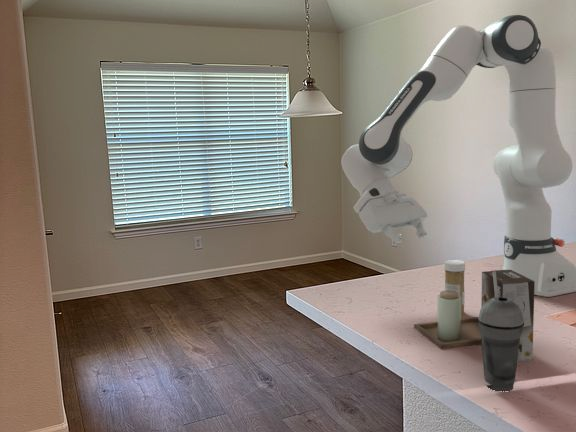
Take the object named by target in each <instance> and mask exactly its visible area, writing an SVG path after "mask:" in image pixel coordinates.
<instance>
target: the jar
mask: <svg viewBox="0 0 576 432" xmlns="http://www.w3.org/2000/svg"><path fill="white" fill-rule="evenodd" d="M439 293H440V294H438V295H437V321H438V340H439V341H441V342H453V341H461V319H462V316H461V296H459V293H458V292H456V291H445V290H441V291H440V292H439Z"/></svg>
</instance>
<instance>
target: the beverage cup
mask: <svg viewBox="0 0 576 432" xmlns="http://www.w3.org/2000/svg"><path fill="white" fill-rule="evenodd" d="M493 271H494V272H493V281H494V291H495V298H492V299H489V300H488V301H487V302H485V303H484V304H483V306H482V305H481V306H482V307H480V309H479V314H478V316H477V317H478V322H479V329H480V332H481V341H482V345H481V353H482V364H483V376H484V381H485V382H486V383H488V385H486V386H487V387H488V389H489V388H490V389H489V390H491V389H492V390H491V391H493V390H495V391H494V392H497V391H502V392H501V393H506V392H505V391H509V392H511V391H510V390H512V389H513V390H514V385H515V381H516V374H517V366H518V362H517V359H518V351H519V343H520V337H521V335H522V331H523V326H524V321H523V315H522V312H521V310H520V308H519V307H518V306H517V304H515V303H514V302H513V301H512V300H510V299H508V298H505V297H498V288H497V279H496V272H495V270H493ZM487 387H486V388H487ZM513 390H512V391H513ZM503 391H504V392H503Z"/></svg>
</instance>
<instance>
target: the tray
mask: <svg viewBox="0 0 576 432" xmlns="http://www.w3.org/2000/svg"><path fill="white" fill-rule="evenodd" d="M478 317H479V316H472V317H465V318H464V317H463V318H461V341H453V342H441V341H439V340H438V320H437V321H431V322H422V323H414V324H413V328H414V329H415V330H416V331H417V332H419V333H420V334H421V335H423V336H424V337H425V338H426V339H428V340H429V341H430V342H431V343H433V344H434V345H435V346H437V347H438V348H439V349H440V350H443V349H450V348H458V347H465V346H466V347H467V346H474V345H481V332H480V329H479V322H478Z"/></svg>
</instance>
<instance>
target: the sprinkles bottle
mask: <svg viewBox="0 0 576 432" xmlns="http://www.w3.org/2000/svg"><path fill="white" fill-rule="evenodd" d="M465 270H466V262H465V261H463V260H459V259H448V260H445V261H444V276H445V278H444V279H445V280H444V291H456V292H458V293H459V296H461V317H462V316H463V315H465Z"/></svg>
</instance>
